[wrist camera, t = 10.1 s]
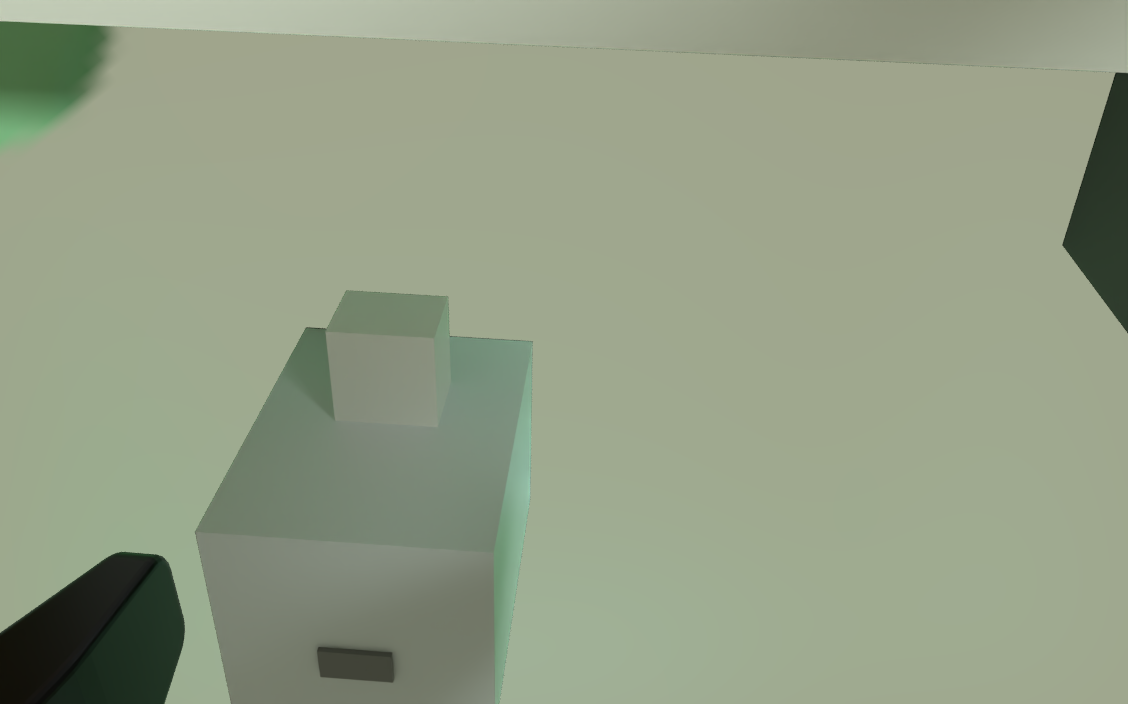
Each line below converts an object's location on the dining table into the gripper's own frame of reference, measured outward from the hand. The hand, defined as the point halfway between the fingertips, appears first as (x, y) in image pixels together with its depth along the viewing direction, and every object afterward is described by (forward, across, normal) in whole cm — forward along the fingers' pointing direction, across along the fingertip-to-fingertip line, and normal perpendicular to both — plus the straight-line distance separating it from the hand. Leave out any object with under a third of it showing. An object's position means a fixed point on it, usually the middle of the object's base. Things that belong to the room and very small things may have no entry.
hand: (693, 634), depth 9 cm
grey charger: (+11, +5, +6) cm, 14 cm away
